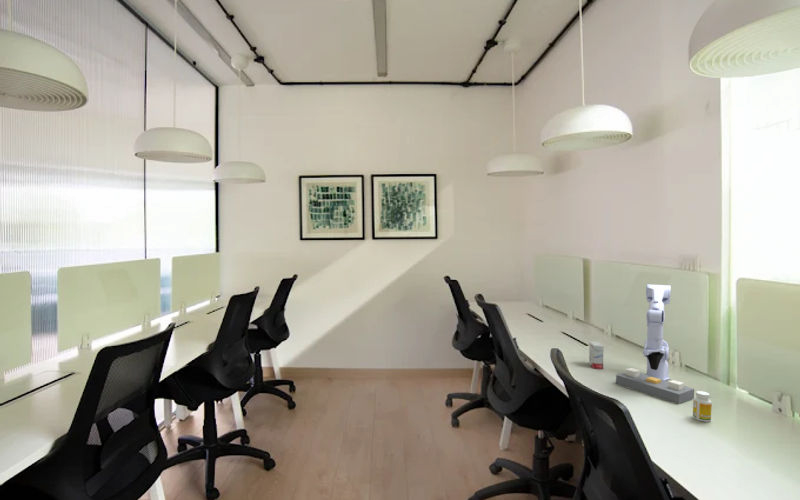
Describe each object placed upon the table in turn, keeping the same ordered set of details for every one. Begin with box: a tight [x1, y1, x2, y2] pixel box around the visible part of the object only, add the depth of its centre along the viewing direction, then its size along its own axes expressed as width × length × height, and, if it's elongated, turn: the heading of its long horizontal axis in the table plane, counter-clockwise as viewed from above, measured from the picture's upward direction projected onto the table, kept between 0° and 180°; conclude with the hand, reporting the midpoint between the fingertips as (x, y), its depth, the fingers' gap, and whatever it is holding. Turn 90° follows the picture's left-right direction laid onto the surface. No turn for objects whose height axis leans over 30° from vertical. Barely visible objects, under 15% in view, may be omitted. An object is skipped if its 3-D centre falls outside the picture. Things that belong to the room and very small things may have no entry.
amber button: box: [646, 377, 661, 384], centre depth 176 cm, size 4×4×4 cm
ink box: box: [588, 341, 604, 370], centre depth 209 cm, size 9×5×12 cm, turn 168°
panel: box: [615, 371, 695, 405], centre depth 176 cm, size 12×26×4 cm, turn 30°
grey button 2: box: [668, 379, 685, 391], centre depth 169 cm, size 4×4×4 cm
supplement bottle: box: [692, 390, 713, 423], centre depth 149 cm, size 5×5×10 cm
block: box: [625, 367, 641, 378], centre depth 184 cm, size 4×4×4 cm
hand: (654, 369), depth 176 cm, fingers closed
